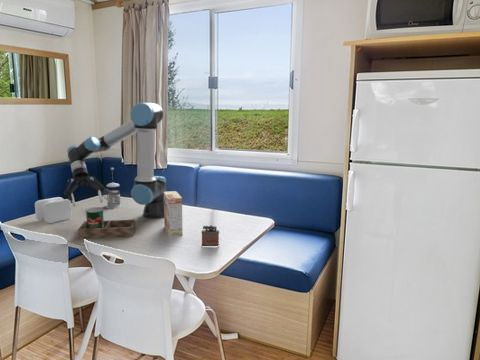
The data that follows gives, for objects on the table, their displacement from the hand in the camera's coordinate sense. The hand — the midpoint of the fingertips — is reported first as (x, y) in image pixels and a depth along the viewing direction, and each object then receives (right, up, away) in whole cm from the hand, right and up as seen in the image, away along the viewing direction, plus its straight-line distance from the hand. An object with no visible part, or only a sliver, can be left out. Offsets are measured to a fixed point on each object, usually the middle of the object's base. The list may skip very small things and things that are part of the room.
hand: (88, 203), depth 186 cm
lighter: (+65, -19, -22) cm, 71 cm away
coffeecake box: (+45, -14, -2) cm, 47 cm away
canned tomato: (+7, -13, -8) cm, 17 cm away
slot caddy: (+13, -14, -7) cm, 21 cm away
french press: (-2, -5, +40) cm, 41 cm away
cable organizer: (-24, -10, +11) cm, 28 cm away
